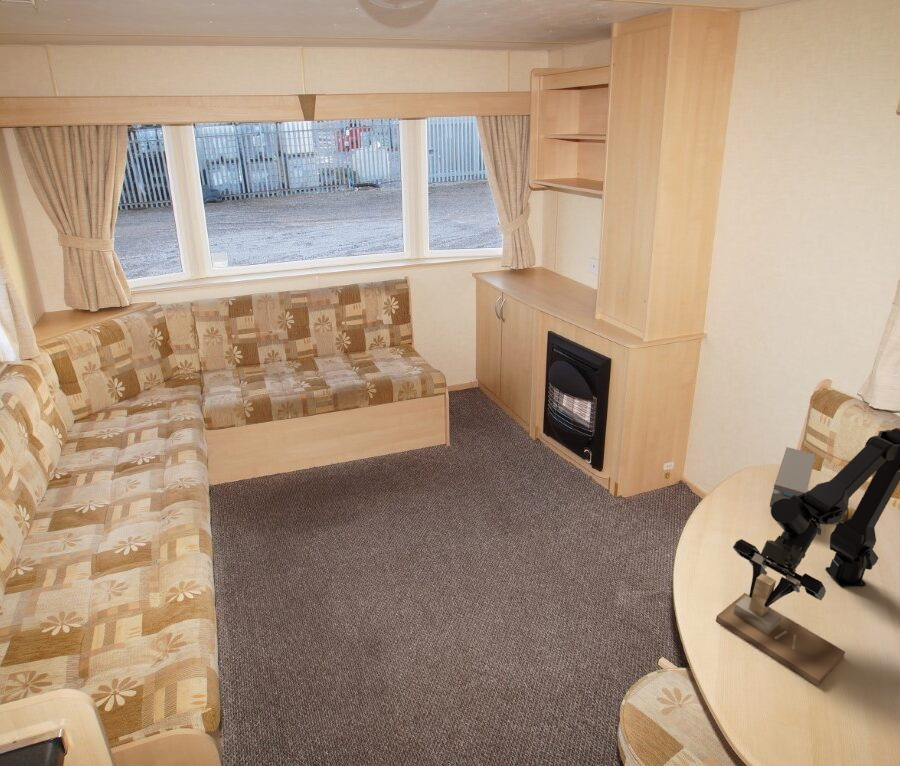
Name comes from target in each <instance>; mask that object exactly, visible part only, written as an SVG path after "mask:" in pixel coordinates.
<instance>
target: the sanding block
mask: <svg viewBox="0 0 900 766" xmlns="http://www.w3.org/2000/svg"><path fill="white" fill-rule="evenodd" d="M776 582H777V580H776V579H774V578H772V577H771V576H768V574H767V575H765V574H763V573H762V574H761V575H760V576H759V577H757V579H756V583H755V587H754V590H753V594H752V598H749V597H748V596H745V597H744V598H743V599H741V600H740V601H739V602H738V603H736V604H735V608H734V612H733V613H734V614H736V615H737V616H739V617H741V618H742V619H744V620H746V621H747V622H749V623H750V624H752V625H754V626H755V627H757V628H758V629H760V630H762V631H763V632H765V633H767V634H770V633H771V632H772V631H773V630H774V629H775V628H776V627H777V626H778V625H779V622H780V619H781V616H780V615H778V614H777V613H775V612H773V611H771V610H770V609H769V607H770V606H768V607H765V606H764V604H765V602H766V601H767V599H768V597H769V596H770V595H771V593H772V592H773V591H774V589H775V588H776Z"/></svg>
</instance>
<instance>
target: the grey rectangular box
mask: <svg viewBox="0 0 900 766" xmlns="http://www.w3.org/2000/svg"><path fill="white" fill-rule="evenodd" d="M815 459H816V454H815V453H811V452H808V451H804V450H799V449H795V448H792V447H788V446H786V448H785V451H784V454H783V458H782V460H781V463H780V467H779V470H778V472H777V476H776V479H775V482H774V485H773V490H772V493H771V497H770V502H769V506H770V508H771V507H772V505H773V504H774V503H775V502H776V501H778V500H780V499H785V498H787V499H790V498H791V497H792V496H793V495H795V496H799V495H802V494H804V493H806V492H808V489H809V484H810V481H811V476H812V473H813V472H812V471H813V468H814V464H815Z"/></svg>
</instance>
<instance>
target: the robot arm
mask: <svg viewBox="0 0 900 766" xmlns="http://www.w3.org/2000/svg"><path fill="white" fill-rule="evenodd" d="M872 476H873V477H872ZM871 477H872V479H871V481H870V482H869V484H868V486H867V488H866V489H865V492H864V493H863V495H862V497H861V499H860V501H859V502H858V504H857V506H856V508H855V512H854V514H853V516H852V517H851V518H850V519H848V520H846V521H844V522H842V521H841V522H840V521H839V520H840V519H841V518H842V516H843V514H844V513H845V511H846V510H847V509H848V508H849V501H850V498H851V497H852V496H853V494H855V493H856V492H858V490H859V489H860V488H861V487H862V486H863V485H864V484H865V483H866V482H867V481H868V480H869V478H871ZM899 483H900V428H899V427H895V428H892V429H887V430H886V429H885V430H880V431H878V434H877V435H873V436H871V437H869V438H868V439H867V440H866V443H865V445H864V447H863V448H862V449H861V450H859V452H858V453H857V454H856V455H855V456H854V457H853V458H851V460H850V461H849V462H848V463H847V464H846V465H845V466H843V468H842V469H841V470H839V472H838V473H837V474H836V475H834V477H832V478H831V479H830V480H828V481H825V482H821V483H817V484H816V485H815V486H814V487H812V488H811V489H810V490H809V491H808V490H807V492H806V493H804V494H802V495H799V496H795V495H793V496H792V497H791V498H790V499H787V498H785V499H780V500H778V501H776V502H775V503H774V504H773V505H772V507H771V506H770V515H771V517H772V518H773V520H774V521H775V522H776V523H777V524H778V525H779V526H780V528H781V529H782V530H783V531H782V533H781V534H780V535H778V536H777V538H775V540H768V539H767V540H765V543H764V546H763V548H762V550H761V552H760V550H759V549H758V547H756V546H755V545H754V544H752V543H750V542H747V540H744V539H742V538H741V539H737V540H736V541H735V543H734V545H733V546H732V548H733V550H734V552H736V554H737V555H739V556H740V557H741V558H743V559H745V560H747V561H748V562H749V564H750V565H751V566H752V579H751V585H750V591H749V594H748V595H749V597H750V598H752V594H753V590H754V587H755V583H756V579H757V577H759V576H760V575H761V574H762V573H763V574H765V575H767V576H768V572H767V570H766V569H767V568H769V569H770V570H773V571H774V572H776V573H778V574H780V575H782V576H781V578H780V579H779V582H778V583H777V586H775V587H774V591H773V592H772V593H771V595H770V596H769V597H768V599H767V601H766V602H765V604H764V606H765V607H768V606H769V607H770V606H771V605H772V604H773V603H775V602H777V601H778V600H780V599H781V598H784V597H785V596H787V595H789V594H791V593H793V592H795V593H799V594H800V589H801V587H803V588H804V590H805V593H806V594H808V595H810V596H811V597H813V598H815V599H817V600H818V601H822V600H823V599H824V597H825V595H826V587H825V585H824V584H823V582H822V581H820V580H819V579H817V578H815V577H813V576H812V575H809V574H807V573H806V572H805V573H804V574H802V575H800V574H799V573H797V567H798V566H799V565H800V564H801V561H802V560H803V559H804V558H805V557H806V552H807V551H808V549H809V548H810V546H811V545H812V543H813V542H814V540H815V538H816V536H817V535H818V536H819V535H822V528H821V525H833V524H836V525H835V528H834V530H833V531H832V532H831V533H830V536H829V550H831V551H833V552H834V553H835V554H834V557H833V558H832V559H831V561H830V566H827V567H826V566H825V569H824V570H825V571H826V572H827V573H828V574H829V575H830V577H831V578H832V579H833V580H834V581H835V582H836V583H837V585H838V586H840V587H843V588H844V587H865V586H866V585H867V582H865V581H864V580H863V577H864V576H865V575H864V574H865V571H866V570H869V571H871V570H872V569H873V567H874V566H875V565H876V564H877V563H878V560H879V556H878V555H877V553H876V552H875V551H874V547H875V545H876V543H877V535H876V530H875V527H876V525H877V524H878V522H879V520H880V518H881V516H882V514H883V512H884V511H885V509H886V507H887V506H888V503H889V501H890V500H891V498H892V495H893V494H894V492H895V491H896V489H897V486H898V485H899Z"/></svg>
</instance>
